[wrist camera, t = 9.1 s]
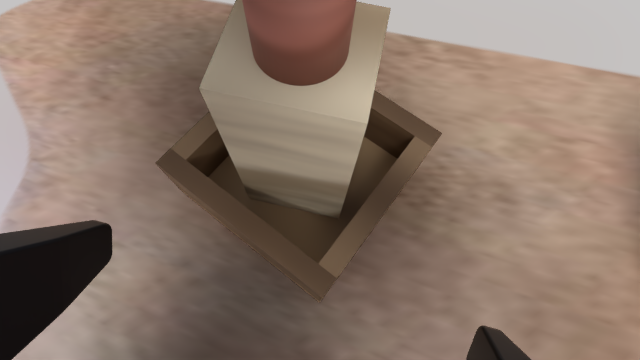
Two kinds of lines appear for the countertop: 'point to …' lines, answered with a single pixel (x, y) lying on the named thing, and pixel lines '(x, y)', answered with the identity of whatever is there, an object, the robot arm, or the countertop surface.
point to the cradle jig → (296, 225)
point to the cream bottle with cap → (296, 96)
